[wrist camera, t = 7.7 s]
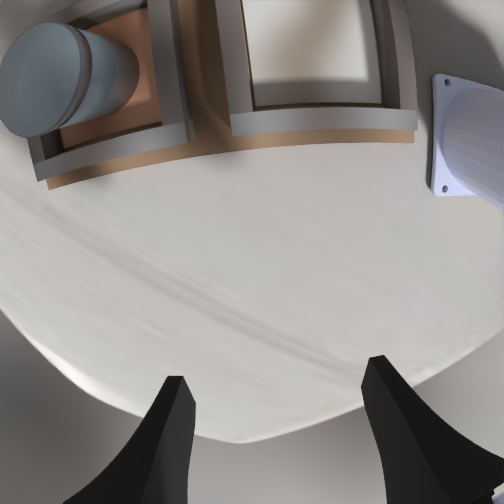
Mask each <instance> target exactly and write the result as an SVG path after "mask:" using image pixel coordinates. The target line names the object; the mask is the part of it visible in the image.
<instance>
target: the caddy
mask: <svg viewBox="0 0 504 504" xmlns="http://www.w3.org/2000/svg"><path fill="white" fill-rule="evenodd" d="M45 22H58V23H62V24H66V25H70V26H73V27H75V28H77V29H80V30H84V31H88V32H91V33H94V34H98V35H101V36H104V37H107V38H111V39H114V40H117V41H120V42H122V43H124V44H126V45H128V46H129V47H130V48H131V49H132V50H133V51H134V53H135V55H136V56H137V59H138V62H139V69H140V73H139V81H138V85H137V88H136V90H135V92H134V94H133V96H132V97H131V99H130V100H129V101H128V103H127V104H126V105H125V106H124V107H123V108H121V109H120V110H119V111H117V112H115V113H114V114H111V115H109V116H105V117H101V118H97V119H92V120H88V121H84V122H80V123H76V124H73V125H69V126H65V127H62V128H59V129H57V130H55V131H52V132H49V133H46V134H43V135H40V136H37V137H32V138H27V139H28V144H29V149H30V154H31V158H32V162H33V166H34V170H35V174H36V178H37V182H38V181H41V180H44V179H46V181H47V185H48V189H49V190H51V189H55V188H58V187H61V186H65V185H68V184H72V183H75V182H79V181H83V180H87V179H90V178H94V177H98V176H102V175H106V174H110V173H115V172H119V171H123V170H128V169H132V168H137V167H142V166H147V165H152V164H157V163H162V162H167V161H173V160H178V159H184V158H190V157H197V156H203V155H210V154H217V153H224V152H232V151H240V150H249V149H258V148H268V147H279V146H292V145H307V144H326V143H361V142H387V143H414V130H418V113H417V89H416V74H415V63H414V54H413V46H412V38H411V31H410V25H409V19H408V14H407V8H406V3H405V0H82V1H80V2H78V3H76V4H74V5H72V6H70V7H68V8H66V9H64V10H62V11H60V12H58V13H57V14H55V15H53V16H51V17H49V18H48V19H46V20H44V21H42V22H41V23H45ZM41 23H39V24H41ZM37 25H38V24H37ZM20 36H21V35H20ZM20 36H19V37H20ZM19 37H17V39H18V38H19Z"/></svg>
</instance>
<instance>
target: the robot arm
mask: <svg viewBox="0 0 504 504" xmlns="http://www.w3.org/2000/svg"><path fill="white" fill-rule="evenodd" d="M445 79H446V81H447V85H445ZM432 82H433V103H434V145H433V166H432V180H431V191H432V193H433V194H434V195H436V196H460V195H478V196H480V197H481V198H483V199H484V200H486V201H488V202H489V203H491V204H492V205H494V206H495V207H497V208H498V209H500V210H501V211H503V212H504V91H503V90H500V89H497V88H493V87H490V86H487V85H484V84H480V83H477V82H473V81H470V80H466V79H462V78H458V77H454V76H449V75H445V74H435V75H434V76H433V79H432ZM444 185H445V188H444V190H443V191H442V188H443V186H444ZM361 390H362V395H363V400H364V405H365V409H366V412H367V416H368V418H369V422H370V425H371V428H372V431H373V434H374V437H375V440H376V443H377V446H378V449H379V453H380V457H381V461H382V467H383V473H384V479H385V487H386V497H387V504H504V492H503V493H501V494H499V495H497V496H495V497H493V498H492V496H493V495H494V489H495V488H496V487H498V486H500V485H501V484H502V483H504V458H501V457H499V456H497V455H495V454H493V453H491V452H489V451H487V450H485V449H483V448H481V447H480V446H478V445H476V444H475V443H473V442H472V441H470V440H469V439H467V438H466V437H464V436H463V435H461V434H460V433H459V432H457V431H456V430H454V428H452V427H451V426H450V425H448V424H447V423H446V422H445V421H444V420H443V419H441V418H440V417H439V416H438V415H437V414H436V413H435V412H434V411H433V410H432V409H431V408H430V407H429V406H428V405H427V404H426V403H425V402H424V401H423V400H422V399H421V398H420V397H419V396H418V395H417V394H416V393H415V391H414V390H413V389H412V388H411V387H410V386H409V385H408V383H407V382H406V381H405V380H404V379H403V378H402V376H401V375H400V374H399V373H398V372H397V370H396V369H395V368H394V367H393V365H392V364H391V363H390V362H389V360H388V359H387V358H386V357H385V356H384V355H381V356H376V357H371V358H369V361H368V365H367V368H366V372H365V375H364V378H363V382H362V385H361ZM195 414H196V402H195V400H194V398H193V396H192V394H191V392H190V390H189V388H188V386H187V383H186V381H185V379H184V377H183V376H168V377H167V378H166V380H165V382H164V384H163V386H162V387H161V389H160V391H159V393H158V395H157V397H156V398H155V400H154V402H153V404H152V405H151V407H150V409H149V410H148V412H147V414H146V415H145V417H144V419H143V420H142V422H141V423H140V425H139V427H138V428H137V429H136V431H135V432H134V434H133V435H132V437H131V438H130V440H129V441H128V442H127V444H126V445H125V446H124V447H123V449H122V450H121V451H120V452H119V454H118V455H117V456H116V457H115V458H114V460H113V461H112V462H111V463H110V464H109V465H108V466H107V467H106V468H105V469H104V470H103V471H102V472H101V473H100V474H99V475H98V476H97V477H96V478H95V479H93V480H92V481H91V482H90V483H89V484H88V485H87V486H85V487H84V488H83V489H82V490H80V491H79V492H77V493H76V494H75V495H73V496H72V497H70V498H69V499H68V500H66V501H65V502H63V504H187V486H188V469H189V463H190V456H191V449H192V443H193V436H194V430H195Z"/></svg>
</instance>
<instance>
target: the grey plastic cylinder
mask: <svg viewBox="0 0 504 504" xmlns="http://www.w3.org/2000/svg"><path fill="white" fill-rule="evenodd" d="M139 73H140V69H139V62H138V59H137V56H136V55H135V53H134V51H133V50H132V49H131V48H130V47H129V46H128V45H126V44H124V43H122V42H120V41H117V40H114V39H111V38H107V37H104V36H101V35H98V34H94V33H91V32H88V31H84V30H80V29H77V28H75V27H73V26H70V25H66V24H62V23H58V22H45V23H41V24H38V25H36V26H34V27H32V28H30V29H29V30H27V31H26V32H24V33H23V34H22V35H21V36H20V37H19V38H18V39H17V40H16V41H15V42H14V43H13V45H12V46H11V47H10V49H9V50H8V52H7V54H6V55H5V57H4V59H3V61H2V64H1V67H0V118H1V120H2V122H3V123H4V125H5V126H6V127H7V128H8V129H9V130H10V131H11V132H12V133H14V134H16V135H18V136H20V137H25V138H32V137H37V136H40V135H43V134H46V133H49V132H52V131H55V130H57V129H59V128H62V127H65V126H69V125H73V124H76V123H80V122H84V121H88V120H92V119H97V118H101V117H105V116H109V115H111V114H114V113H115V112H117V111H119V110H120V109H121V108H123V107H124V106H125V105H126V104H127V103H128V101H129V100H130V99H131V97H132V96H133V94H134V92H135V90H136V88H137V85H138V81H139Z"/></svg>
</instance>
